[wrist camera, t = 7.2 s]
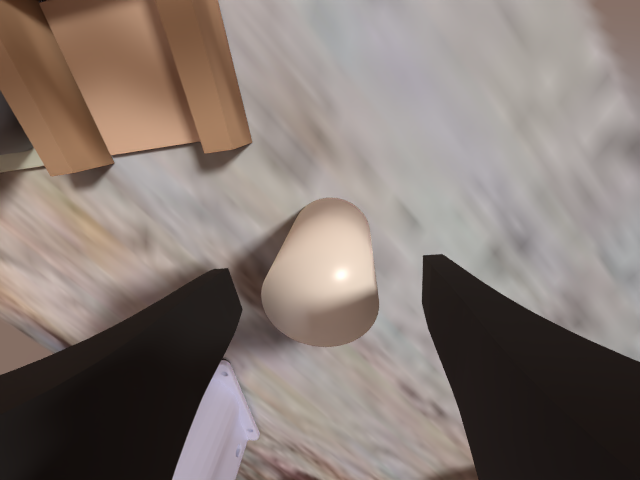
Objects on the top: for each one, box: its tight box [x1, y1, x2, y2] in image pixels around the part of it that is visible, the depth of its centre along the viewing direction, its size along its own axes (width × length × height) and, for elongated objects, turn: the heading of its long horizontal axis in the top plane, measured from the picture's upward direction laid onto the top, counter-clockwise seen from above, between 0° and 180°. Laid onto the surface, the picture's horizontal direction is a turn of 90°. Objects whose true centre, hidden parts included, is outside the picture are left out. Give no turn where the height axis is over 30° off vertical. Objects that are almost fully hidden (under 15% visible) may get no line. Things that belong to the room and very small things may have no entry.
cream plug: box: [261, 198, 379, 347], centre depth 11 cm, size 4×4×6 cm
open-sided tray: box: [0, 0, 252, 176], centre depth 11 cm, size 8×16×2 cm, turn 98°
